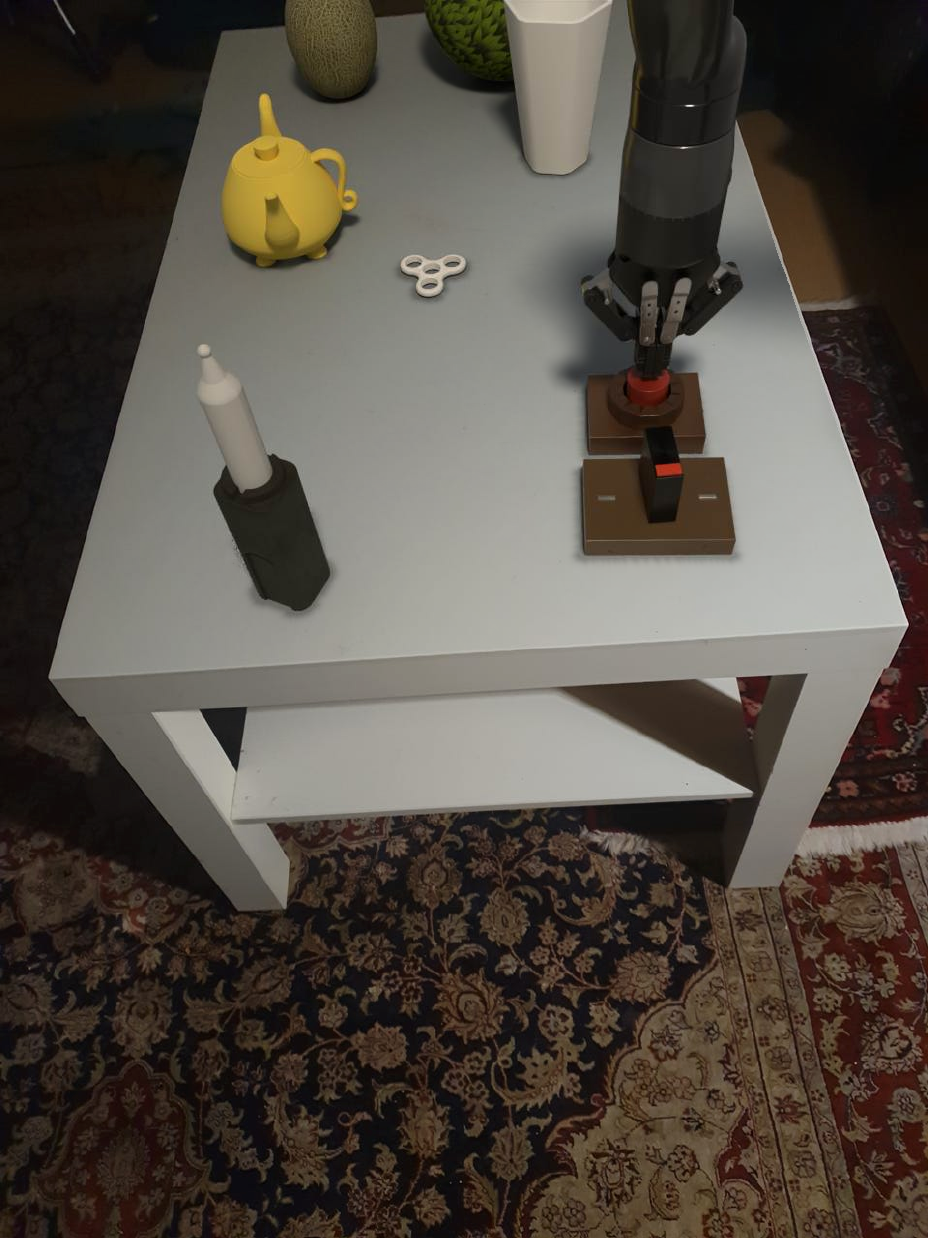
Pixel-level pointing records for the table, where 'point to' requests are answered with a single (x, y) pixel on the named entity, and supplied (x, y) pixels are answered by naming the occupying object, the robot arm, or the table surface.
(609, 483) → the plate
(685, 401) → the block
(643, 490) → the thumbturn
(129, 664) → the table surface
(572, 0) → the cup
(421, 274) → the fidget spinner
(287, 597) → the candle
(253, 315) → the table surface
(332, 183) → the teapot
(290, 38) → the fruit
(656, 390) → the button
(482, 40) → the decorative ball
